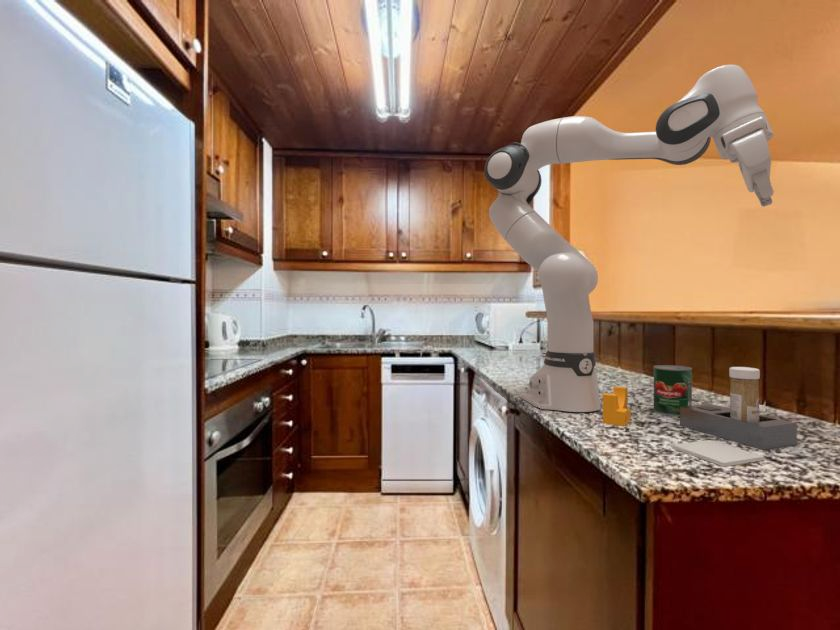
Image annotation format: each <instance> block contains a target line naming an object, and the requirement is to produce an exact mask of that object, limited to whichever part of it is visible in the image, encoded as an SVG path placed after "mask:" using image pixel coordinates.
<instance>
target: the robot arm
mask: <svg viewBox="0 0 840 630" xmlns="http://www.w3.org/2000/svg"><path fill="white" fill-rule="evenodd" d="M758 100H759V99H758V93H757V91H756V88H755V86H754V84H753V82H752V80H751V79H750V77H749V75H748V74H747V72H746V71H745V70H744V69H743V68H742V67H741V66H740V65H737V64H723V65H720V66H717V67H714V68H712V69H710V70H709V71H707V72H705V73H704V74H703V75H702V76H700V77H699V78H698V80H697V81H696V83H695V84H694V85H693V87H692V88H691V89H690V90H689V91H688V92H687V93H686V94H685V95H683V97H682V98H681V99H679V100H678V101H676V102H675V103H673V104H672V105H670V106H669V107H667V108H666V109H665V110H664V111H662V113H661V114H660V116H659V117H658V119H657V121H656V124H655V131H642V132H641V131H640V132H639V131H638V132H621V131H617V130H613V129H611V128H609V127H608V126H605V125H604V123H601V122H600V121H598V120H597V119H595V118H594V117H591V116H583V115H576V116H575V115H574V116H573V115H572V116H566V117H560V118H555V119H550V120H546V121H543V122H540V123H536V124H534V125H531V126H529V127H528V128H527V129H526V130H524V132H523V134H522V138H521V139H520V142H516V141H514V142H511V143H509V144H507V145H506V146H504V147H503V146H502V147H500V148H499V149H497V150H495V151H493V152H492V153H491V154H490V155H489V156H488V158H487V159H486V161H485V163H484V169H483V170H484V176H485V178H486V180H487V182H488V183H489V184H490V186H491V187H492V188H494V189H495V190H497V191H498V192H497V197H496V198H495V200H493V202H492V204H490V207H489V210H488V217H489V219H490V221H491V223H492V225H493V226H494V228H495V229H496V231H497V233H498V234H499V235H500V236H501V237H502V238H503V240H505V241H506V242H507V244H508V245H509V246H510V247H511V248H512V250H513V251H515V252H516V254H518V255H519V256H520V258H521V259H522V260H523V261H525V262H526V263H527V264H528V265H529V266H531V267H532V268H533V269H534V270H535V271H536V272H538V273H537V275H538V276H537V277H538V281H539V284H540V285H541V289H542V296H543V301H544V303H543V304H544V307H545V312H546V319H547V351H546V352H542V358H544V360H543V365H542V366H541V367H540V368H539V369H538V370H537V371H536V372H535V373H534V374H533V375H531V376H530V377H529V383H528V391H527V392H523V393H520V396H519V398H521V399H522V400H524V401H525V402H527V403H529V404H530V405H532V406H534V407H536V408H537V407H538V408H537V409H539V408H540V410H550V411H551V410H553V411H560V412H561V411H562V412H570V413H571V412H573V413H589V412H590V413H591V412H596V411H600V410H601V409H602V406H603V399H601V398H600V391H599V389H600V388H599V381H598V374H597V372H596V371H595V367H596V366H597V364H596V361H597V357H596V352H595V351H594V317H593V315H592V310H591V309H592V308H591V304H590V303H591V302H590V296H589V295H590V294H591V293H593V291H595V289H596V287H597V285H598V281H599V274H598V270H597V268H596V267H595V265H594V264H593V263H592V262H591V261H589V259H587V258H586V256H584V255H583V254H582V253H581V252H580V251H579V250H578V249H577V248H575V247H574V246H573V245H572V244H571V243H570V242H569V241H568V240H566V239H565V238H564V237H563V236H562V235H561V234H560V233H559V232H558V231H556V230H555V229H554V228H553V227H552V226H551V225H550V224H549V223H548V222H547V221H546V220H545V219H544V218H543V217H542V216H541V215H540V214H539V213H538V212H537V211H536V210H535V209H534V208H533V207H531V205H530V204H531V203H532V201H533V199H534V197H536V195H537V194H538V193H539V191H540V189H541V187H542V175H541V172H540V171H539V170H540V169H542V168H543V167H545V166H549V165H559V164H560V165H561V164H573V163H582V162H591V161H594V162H595V161H604V160H605V161H607V160H609V161H611V160H612V161H613V160H615V161H616V160H617V161H618V160H619V161H620V160H625V161H626V160H658V161H662V162H665V163H667V164H670V165H674V166H682V165H683V166H684V165H687V164H690V163H693V162H696V161H697V160H698V159H699V158H701V157H702V156H703V155H704V154H705V153H706V152H707V150H708V148H709V146H710V144H711V141H712V139H711V138H713V141H714V144H715V146H716V149H717V152H718V154H719V158H721V160H728V159H729V161H730V163H733V164H734V163H735V164H736V163H738V164H737V165H738V167H739V170H740V172H741V176H742V178H743V179H742V180H744V184H745V186H746V189H747V191H748V192H749V193H754V194H755V195H756V197H757V199H758V201H759V203H760V206H761V207H762V208H764V207H767V206H770V205H772V204H773V199H772V197H773V196H774V189H773V186H772V183H771V178H770V176H771V167H772V158H771V157H772V156H771V152H770V148H769V145H770V144H769V143H768V142H769V141H770V140H771V139H772V138H773V137H774V132H773V130H772V127H771V124H770V122H769V120H768V117H767V114H766V113H765V111H764V110H763V109H762V108H761V107H760V106H759V105H760V104H759V102H758Z"/></svg>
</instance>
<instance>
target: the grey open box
mask: <svg viewBox="0 0 840 630" xmlns="http://www.w3.org/2000/svg"><path fill="white" fill-rule="evenodd" d="M679 426H681V427H684V428H687V429H690V430H695V431H698V432H701V433H704V434H708V435H710V436H715V437H718V438H721V439H725V440H727V441H731V442H735V443H739V444H741V445H742V444H743V445H745V446H749V447H753V448H756V449H759V450H762V451H764V450H771V449H777V448H785V447H790V446H791V447H792V446H797V445H798V424H797V422H795V421H790V420H786V419H785V420H784V419H782V418H781V419H780V418H777V417H776V418H775V417H771V416H767V415H763V414H759V422H755V423H749V422H745V421H741V420H737V419H732V418H730V407H726V406H720V405H717V404H713V403H706V404H695V405H693V404H692V406H683V407H680V417H679Z"/></svg>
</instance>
